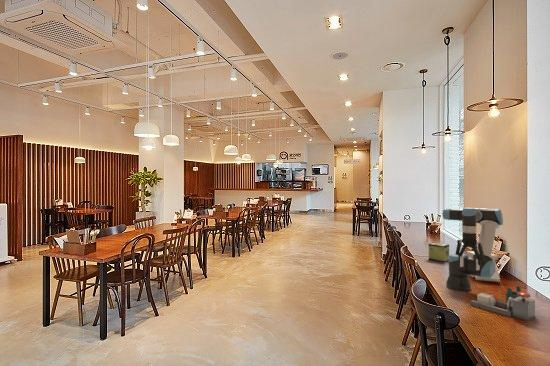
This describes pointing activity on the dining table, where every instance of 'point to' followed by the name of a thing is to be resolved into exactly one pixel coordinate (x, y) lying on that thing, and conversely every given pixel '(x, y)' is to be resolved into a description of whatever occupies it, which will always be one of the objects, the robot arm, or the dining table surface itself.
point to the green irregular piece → (512, 293)
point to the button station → (522, 306)
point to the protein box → (439, 252)
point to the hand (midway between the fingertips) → (469, 268)
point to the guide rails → (493, 307)
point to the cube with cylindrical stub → (486, 299)
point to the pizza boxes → (496, 274)
